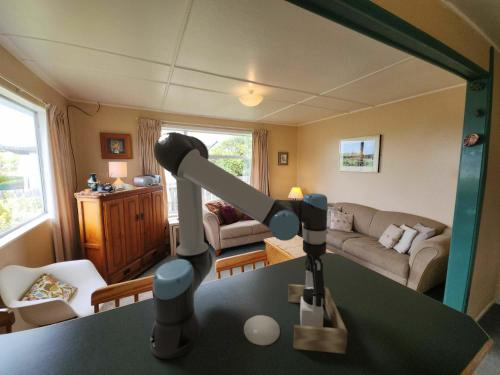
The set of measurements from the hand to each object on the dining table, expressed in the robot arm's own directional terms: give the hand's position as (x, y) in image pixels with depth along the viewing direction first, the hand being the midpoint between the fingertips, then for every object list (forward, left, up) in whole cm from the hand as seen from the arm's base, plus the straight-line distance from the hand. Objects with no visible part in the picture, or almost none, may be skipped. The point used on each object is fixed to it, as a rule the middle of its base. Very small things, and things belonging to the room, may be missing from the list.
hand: (313, 299), depth 71 cm
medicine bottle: (0, 0, -9) cm, 9 cm away
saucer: (-17, -5, -9) cm, 20 cm away
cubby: (0, 0, -9) cm, 9 cm away
